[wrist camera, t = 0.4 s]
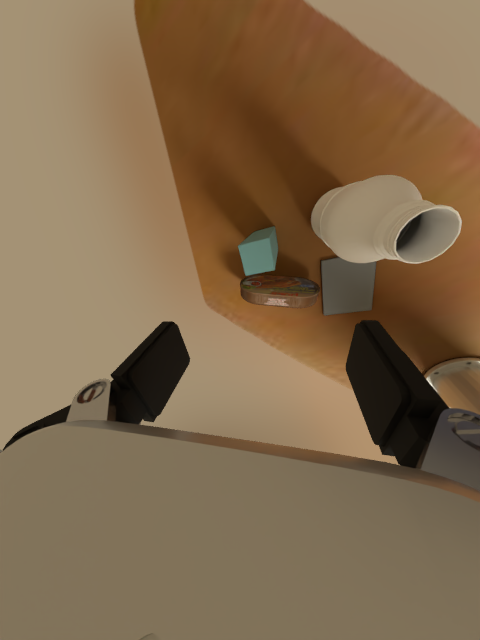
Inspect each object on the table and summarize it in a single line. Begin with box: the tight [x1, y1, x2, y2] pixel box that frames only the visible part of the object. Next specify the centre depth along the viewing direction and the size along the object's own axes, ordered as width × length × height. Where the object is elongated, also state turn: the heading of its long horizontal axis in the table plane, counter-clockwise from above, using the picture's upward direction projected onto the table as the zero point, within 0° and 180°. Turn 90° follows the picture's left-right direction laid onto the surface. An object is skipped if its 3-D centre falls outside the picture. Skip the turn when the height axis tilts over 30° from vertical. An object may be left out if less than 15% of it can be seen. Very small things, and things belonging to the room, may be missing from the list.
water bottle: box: [311, 175, 462, 264], centre depth 20 cm, size 7×7×25 cm
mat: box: [321, 257, 376, 315], centre depth 36 cm, size 12×9×1 cm
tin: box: [240, 275, 320, 308], centre depth 35 cm, size 15×3×8 cm, turn 90°
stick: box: [238, 226, 278, 276], centre depth 29 cm, size 4×4×14 cm
